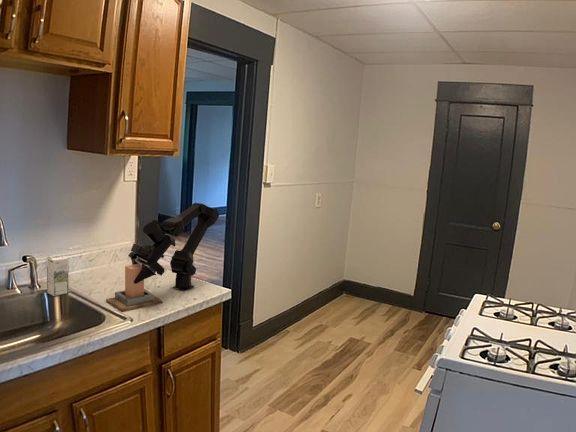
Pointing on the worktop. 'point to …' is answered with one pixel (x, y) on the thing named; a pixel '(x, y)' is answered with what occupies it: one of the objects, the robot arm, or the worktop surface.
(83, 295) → the worktop surface
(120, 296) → the collar board
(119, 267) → the worktop surface
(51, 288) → the syrup box
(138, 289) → the terracotta block
